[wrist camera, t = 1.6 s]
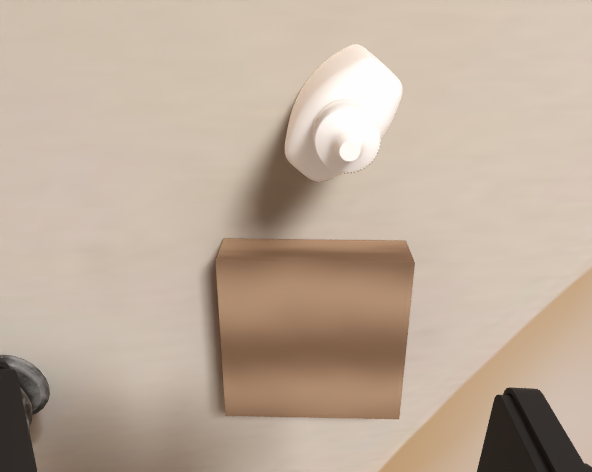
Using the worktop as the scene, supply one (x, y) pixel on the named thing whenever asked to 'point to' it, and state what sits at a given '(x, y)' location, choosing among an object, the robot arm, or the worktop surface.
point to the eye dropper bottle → (342, 115)
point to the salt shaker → (29, 385)
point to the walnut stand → (314, 326)
